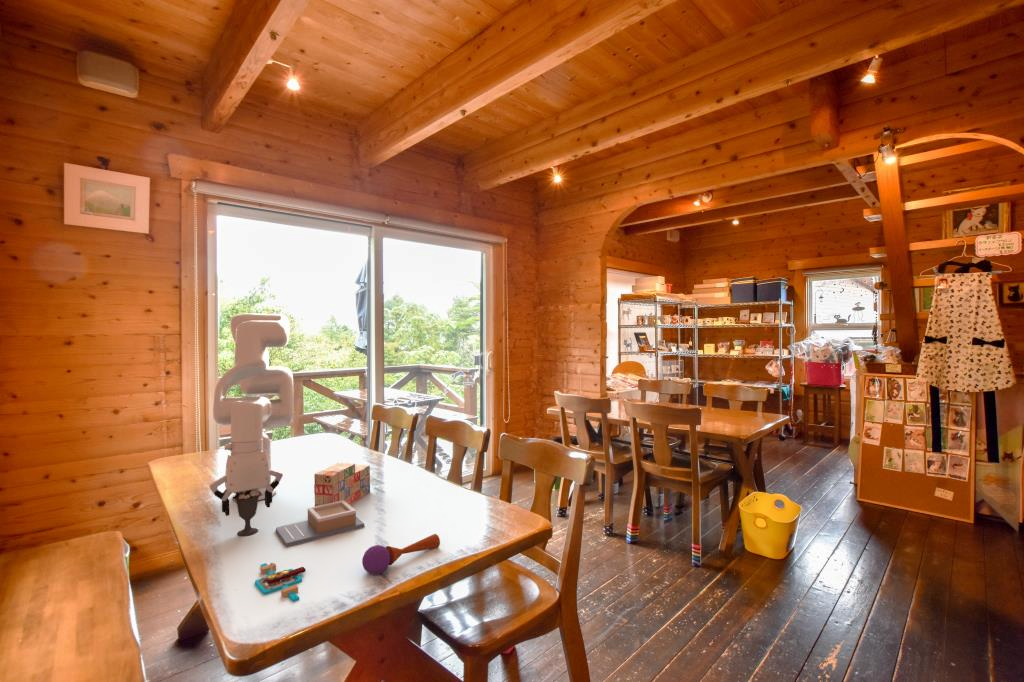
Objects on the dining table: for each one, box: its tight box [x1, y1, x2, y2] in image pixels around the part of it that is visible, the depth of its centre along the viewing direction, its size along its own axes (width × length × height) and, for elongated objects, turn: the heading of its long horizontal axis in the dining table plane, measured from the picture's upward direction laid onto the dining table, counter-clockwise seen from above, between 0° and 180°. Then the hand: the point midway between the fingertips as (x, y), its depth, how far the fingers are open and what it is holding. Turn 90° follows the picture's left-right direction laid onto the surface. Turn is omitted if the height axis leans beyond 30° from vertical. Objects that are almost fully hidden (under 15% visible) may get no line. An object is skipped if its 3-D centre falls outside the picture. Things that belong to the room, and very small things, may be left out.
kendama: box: [361, 533, 441, 575], centre depth 113 cm, size 6×6×20 cm
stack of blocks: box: [313, 462, 371, 507], centre depth 151 cm, size 21×6×12 cm, turn 167°
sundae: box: [232, 489, 262, 537], centre depth 128 cm, size 7×7×15 cm
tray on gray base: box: [275, 500, 365, 548], centre depth 130 cm, size 12×20×5 cm, turn 128°
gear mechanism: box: [254, 561, 307, 603], centre depth 103 cm, size 20×5×9 cm
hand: (247, 510), depth 128 cm, fingers open, 9 cm apart
